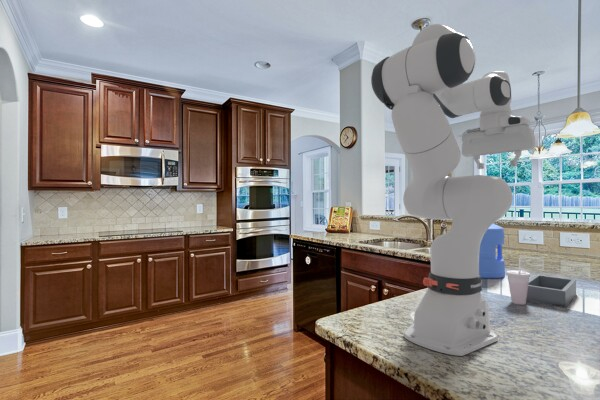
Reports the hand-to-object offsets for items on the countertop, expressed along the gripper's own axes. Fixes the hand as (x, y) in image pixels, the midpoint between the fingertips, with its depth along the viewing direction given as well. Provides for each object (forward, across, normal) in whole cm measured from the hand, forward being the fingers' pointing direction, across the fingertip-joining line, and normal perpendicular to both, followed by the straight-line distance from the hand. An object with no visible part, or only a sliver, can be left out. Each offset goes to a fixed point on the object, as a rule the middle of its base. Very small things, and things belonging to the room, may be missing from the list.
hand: (496, 167), depth 101 cm
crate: (+44, +10, +18) cm, 48 cm away
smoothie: (+44, +4, +4) cm, 44 cm away
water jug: (+44, -17, +38) cm, 60 cm away
